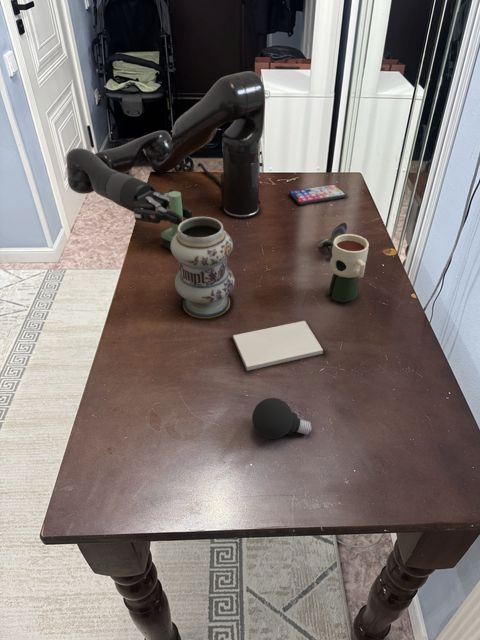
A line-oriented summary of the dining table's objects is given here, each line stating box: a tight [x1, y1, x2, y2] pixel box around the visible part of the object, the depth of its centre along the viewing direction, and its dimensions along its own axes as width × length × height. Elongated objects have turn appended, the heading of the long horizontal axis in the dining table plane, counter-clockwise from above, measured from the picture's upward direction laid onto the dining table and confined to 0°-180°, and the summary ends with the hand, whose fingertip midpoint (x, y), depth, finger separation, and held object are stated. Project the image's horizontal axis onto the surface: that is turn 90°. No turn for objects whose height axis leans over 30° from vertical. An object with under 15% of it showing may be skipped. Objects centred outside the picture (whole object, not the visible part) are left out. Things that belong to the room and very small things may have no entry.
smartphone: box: [288, 183, 347, 206], centre depth 140 cm, size 8×1×15 cm
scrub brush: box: [160, 190, 184, 251], centre depth 115 cm, size 7×5×14 cm, turn 54°
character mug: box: [328, 233, 370, 303], centre depth 102 cm, size 11×7×13 cm, turn 23°
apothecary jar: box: [170, 216, 236, 319], centre depth 97 cm, size 12×12×18 cm
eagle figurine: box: [317, 222, 348, 261], centre depth 117 cm, size 8×7×9 cm
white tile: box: [232, 320, 324, 372], centre depth 94 cm, size 15×9×1 cm, turn 109°
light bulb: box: [251, 397, 312, 440], centre depth 78 cm, size 6×6×10 cm
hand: (185, 218), depth 112 cm, fingers closed on scrub brush, 3 cm apart
